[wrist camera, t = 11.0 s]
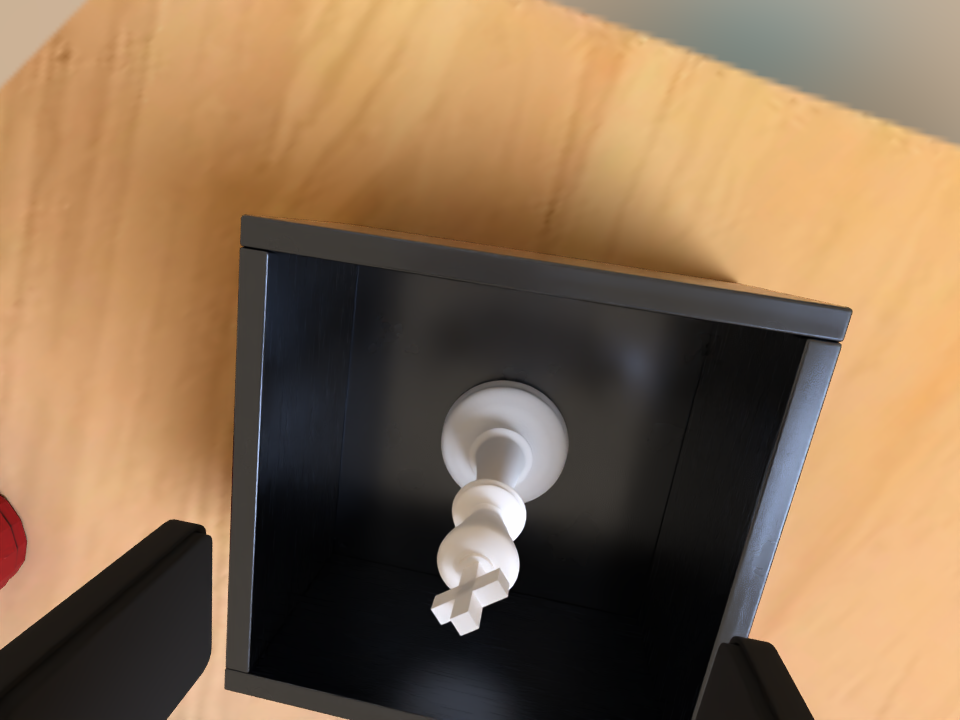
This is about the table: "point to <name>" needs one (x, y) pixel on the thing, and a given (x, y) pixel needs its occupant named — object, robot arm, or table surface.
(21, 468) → the table surface
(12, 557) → the plastic cup
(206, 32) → the table surface
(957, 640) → the table surface
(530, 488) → the chess piece
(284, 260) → the dark grey open box
